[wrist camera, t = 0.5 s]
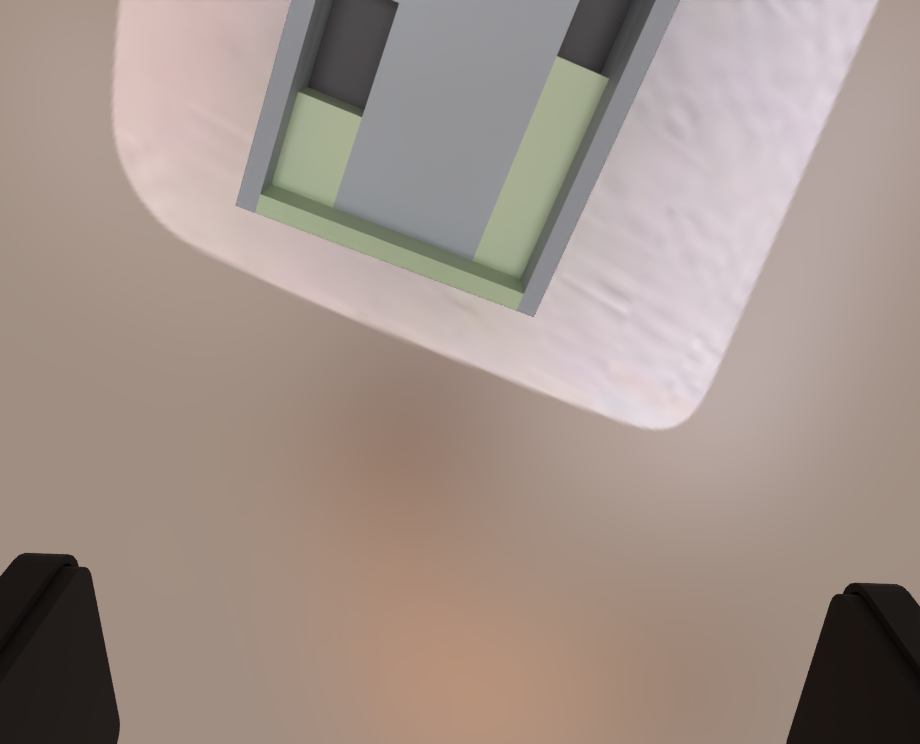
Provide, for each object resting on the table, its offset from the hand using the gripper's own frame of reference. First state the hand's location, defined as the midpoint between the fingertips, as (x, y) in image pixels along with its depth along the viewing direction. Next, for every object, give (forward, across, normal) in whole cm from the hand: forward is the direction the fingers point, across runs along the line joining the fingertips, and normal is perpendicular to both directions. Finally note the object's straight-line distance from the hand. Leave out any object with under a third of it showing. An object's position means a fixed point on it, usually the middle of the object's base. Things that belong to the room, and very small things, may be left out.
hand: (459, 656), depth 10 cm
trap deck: (+28, -1, -9) cm, 29 cm away
